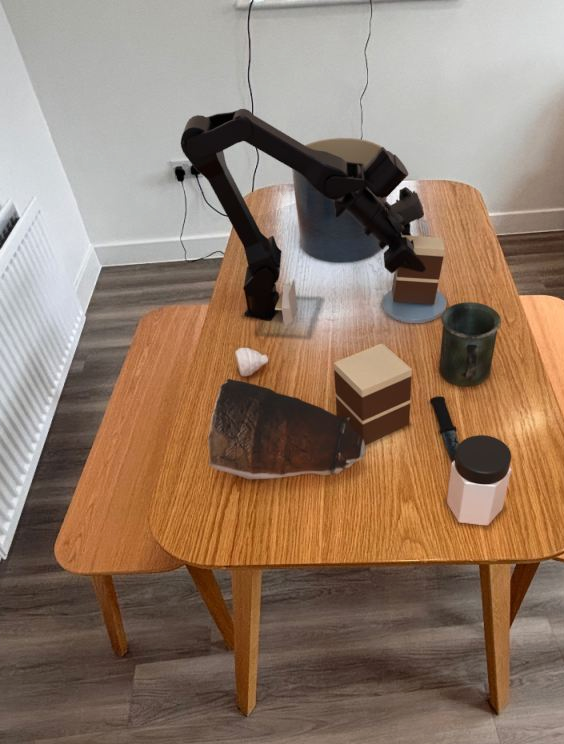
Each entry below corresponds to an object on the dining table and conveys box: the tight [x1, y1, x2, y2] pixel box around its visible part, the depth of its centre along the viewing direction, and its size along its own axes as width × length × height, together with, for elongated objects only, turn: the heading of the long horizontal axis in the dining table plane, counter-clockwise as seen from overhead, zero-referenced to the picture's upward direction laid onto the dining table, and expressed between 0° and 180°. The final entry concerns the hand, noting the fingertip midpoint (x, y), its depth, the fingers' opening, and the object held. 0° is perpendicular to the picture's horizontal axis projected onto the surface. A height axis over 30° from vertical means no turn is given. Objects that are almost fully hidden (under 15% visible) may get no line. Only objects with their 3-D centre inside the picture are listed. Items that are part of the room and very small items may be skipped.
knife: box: [430, 395, 460, 463], centre depth 113 cm, size 21×1×3 cm
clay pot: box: [207, 378, 367, 480], centre depth 107 cm, size 15×15×25 cm
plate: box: [382, 289, 448, 324], centre depth 142 cm, size 14×14×1 cm
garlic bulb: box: [234, 347, 269, 378], centre depth 126 cm, size 6×6×5 cm
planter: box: [291, 137, 388, 263], centre depth 154 cm, size 22×22×20 cm
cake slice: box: [391, 235, 446, 304], centre depth 136 cm, size 9×5×12 cm, turn 91°
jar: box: [446, 434, 512, 526], centre depth 99 cm, size 9×8×12 cm
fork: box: [416, 217, 431, 237], centre depth 168 cm, size 3×21×3 cm, turn 5°
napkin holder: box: [275, 279, 298, 325], centre depth 138 cm, size 3×7×7 cm, turn 172°
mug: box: [438, 301, 502, 388], centre depth 120 cm, size 11×15×12 cm
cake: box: [333, 342, 413, 446], centre depth 113 cm, size 9×10×12 cm
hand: (422, 264), depth 134 cm, fingers closed on cake slice, 5 cm apart
